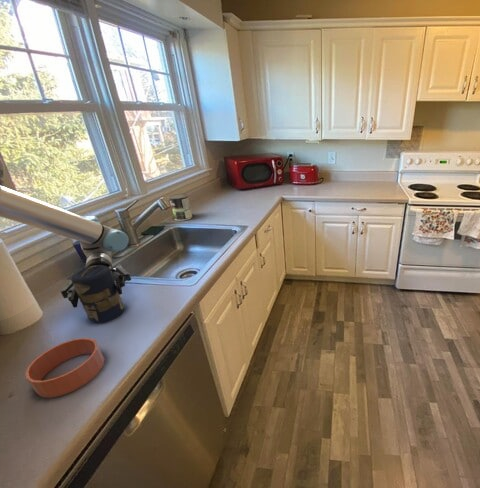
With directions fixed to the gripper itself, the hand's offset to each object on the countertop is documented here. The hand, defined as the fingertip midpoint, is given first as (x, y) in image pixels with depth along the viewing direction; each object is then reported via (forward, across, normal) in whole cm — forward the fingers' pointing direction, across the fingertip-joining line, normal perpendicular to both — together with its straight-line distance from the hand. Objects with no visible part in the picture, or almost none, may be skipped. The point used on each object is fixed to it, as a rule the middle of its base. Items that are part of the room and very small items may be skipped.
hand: (97, 297), depth 84 cm
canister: (-4, 0, -10) cm, 11 cm away
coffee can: (-89, -38, -10) cm, 97 cm away
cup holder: (+19, +7, -10) cm, 22 cm away
